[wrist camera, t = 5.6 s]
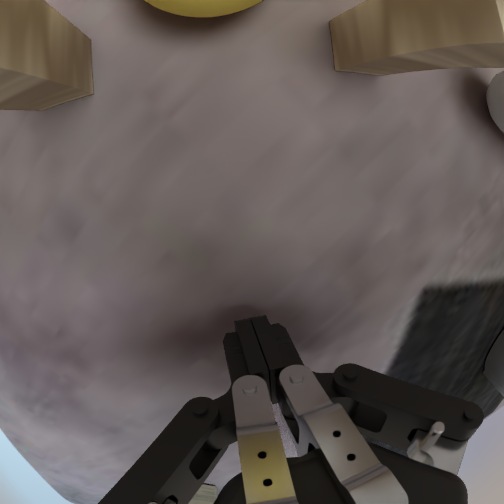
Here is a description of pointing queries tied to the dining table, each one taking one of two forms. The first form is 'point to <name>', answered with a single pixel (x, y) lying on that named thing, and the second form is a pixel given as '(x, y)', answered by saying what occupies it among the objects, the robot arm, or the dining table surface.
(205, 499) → the skincare box
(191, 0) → the ball
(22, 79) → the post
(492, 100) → the donut
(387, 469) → the robot arm
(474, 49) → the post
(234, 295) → the dining table surface
